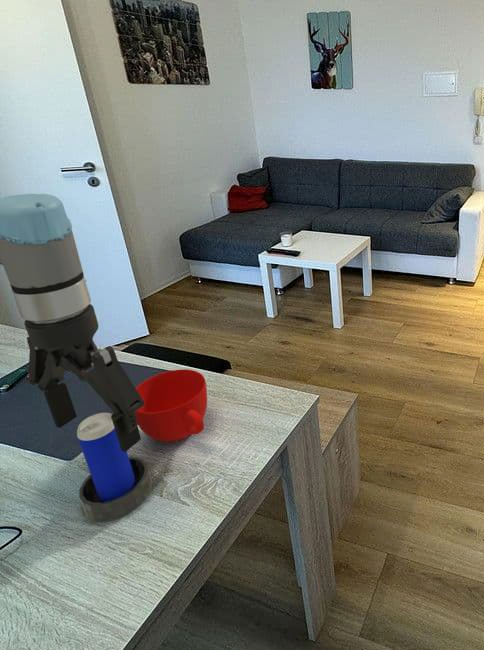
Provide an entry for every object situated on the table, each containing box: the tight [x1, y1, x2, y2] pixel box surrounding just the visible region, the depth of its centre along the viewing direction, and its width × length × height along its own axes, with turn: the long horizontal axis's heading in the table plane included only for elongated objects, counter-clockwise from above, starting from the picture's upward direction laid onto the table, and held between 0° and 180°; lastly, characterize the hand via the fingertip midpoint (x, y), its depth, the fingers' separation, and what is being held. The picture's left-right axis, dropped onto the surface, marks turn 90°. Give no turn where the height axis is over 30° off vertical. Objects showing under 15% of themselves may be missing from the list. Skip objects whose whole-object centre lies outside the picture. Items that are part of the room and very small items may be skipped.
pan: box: [78, 456, 153, 523], centre depth 71 cm, size 9×9×4 cm
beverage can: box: [76, 412, 137, 503], centre depth 68 cm, size 5×5×15 cm
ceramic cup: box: [135, 368, 208, 443], centre depth 82 cm, size 13×17×10 cm
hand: (98, 433), depth 66 cm, fingers open, 13 cm apart
